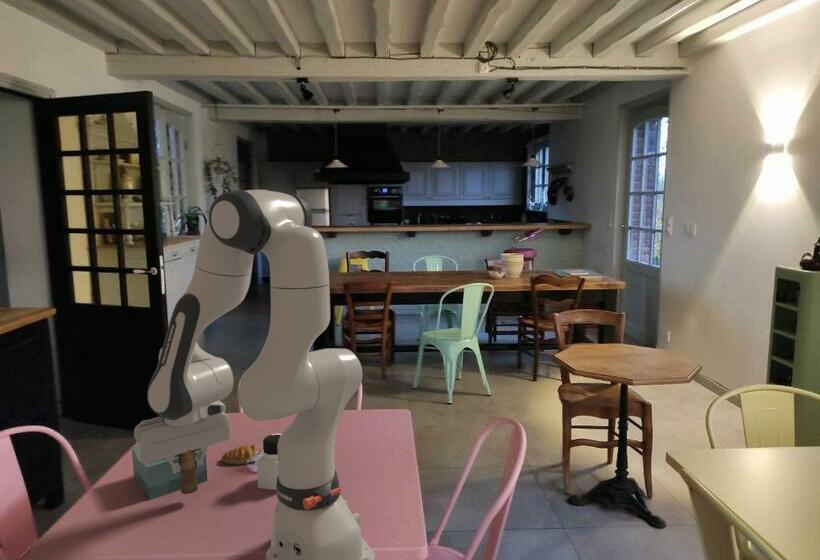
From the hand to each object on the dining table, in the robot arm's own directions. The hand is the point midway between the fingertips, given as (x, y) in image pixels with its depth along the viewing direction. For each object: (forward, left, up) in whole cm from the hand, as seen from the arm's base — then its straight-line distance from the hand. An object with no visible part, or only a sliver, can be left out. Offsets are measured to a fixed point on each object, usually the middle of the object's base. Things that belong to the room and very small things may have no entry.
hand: (187, 468), depth 124 cm
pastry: (+12, -18, -9) cm, 23 cm away
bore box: (+14, 0, -8) cm, 16 cm away
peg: (0, 0, -5) cm, 5 cm away
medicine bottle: (-5, -19, -8) cm, 22 cm away
